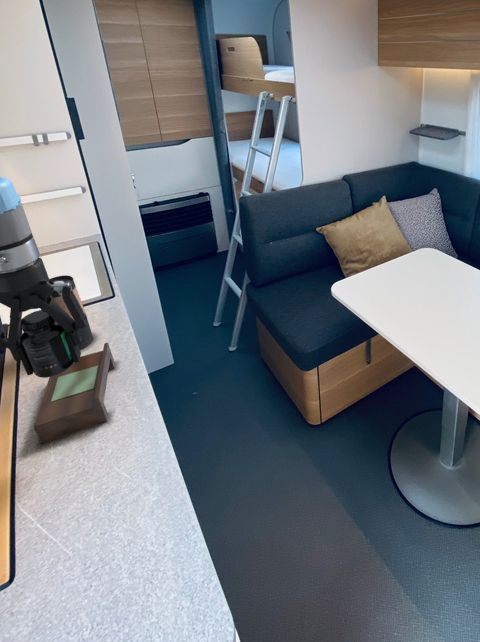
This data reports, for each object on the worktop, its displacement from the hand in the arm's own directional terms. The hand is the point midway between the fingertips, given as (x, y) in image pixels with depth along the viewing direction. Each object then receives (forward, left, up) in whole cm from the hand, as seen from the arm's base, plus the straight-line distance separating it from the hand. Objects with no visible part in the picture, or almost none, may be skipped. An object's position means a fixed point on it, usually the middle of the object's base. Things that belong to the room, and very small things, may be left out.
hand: (55, 363), depth 82 cm
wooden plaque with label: (-1, +10, -19) cm, 21 cm away
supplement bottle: (0, 0, -1) cm, 1 cm away
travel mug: (-5, +34, -19) cm, 39 cm away
